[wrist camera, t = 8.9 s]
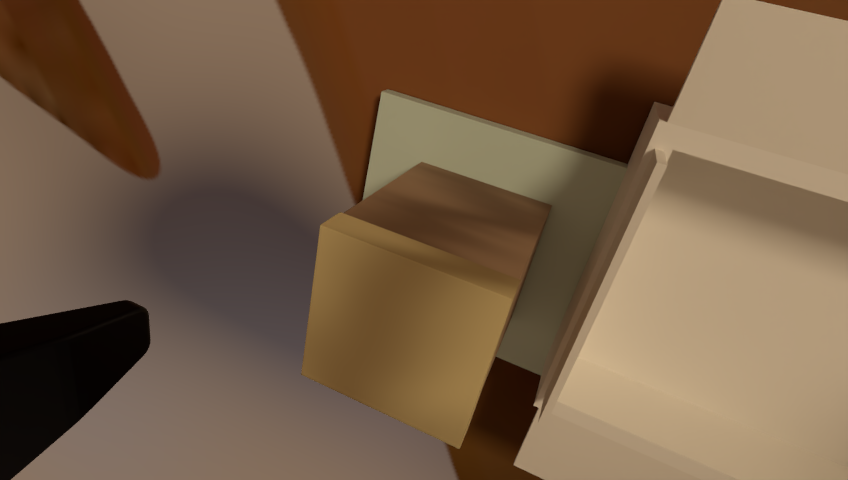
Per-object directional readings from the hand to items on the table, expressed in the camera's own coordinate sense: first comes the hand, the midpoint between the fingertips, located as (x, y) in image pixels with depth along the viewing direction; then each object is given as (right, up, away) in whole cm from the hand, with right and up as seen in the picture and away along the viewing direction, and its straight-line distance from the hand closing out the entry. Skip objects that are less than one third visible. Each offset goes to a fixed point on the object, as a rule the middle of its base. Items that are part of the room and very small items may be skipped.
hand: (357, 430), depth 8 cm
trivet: (+3, +3, +11) cm, 12 cm away
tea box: (+3, +3, +11) cm, 12 cm away
